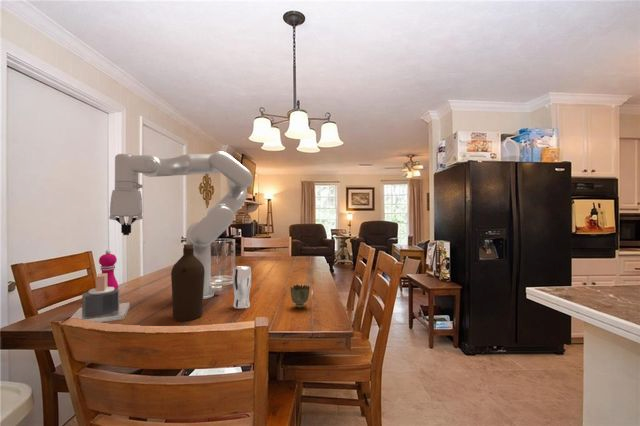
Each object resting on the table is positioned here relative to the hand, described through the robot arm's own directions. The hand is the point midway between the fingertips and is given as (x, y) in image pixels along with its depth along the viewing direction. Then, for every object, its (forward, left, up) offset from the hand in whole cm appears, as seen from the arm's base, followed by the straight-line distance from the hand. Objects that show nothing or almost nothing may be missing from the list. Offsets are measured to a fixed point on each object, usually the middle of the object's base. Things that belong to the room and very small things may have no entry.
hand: (126, 234), depth 114 cm
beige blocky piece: (+6, +9, -22) cm, 24 cm away
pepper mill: (+8, -14, -27) cm, 32 cm away
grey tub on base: (+6, +9, -27) cm, 29 cm away
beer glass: (-40, +19, -27) cm, 52 cm away
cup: (-60, +29, -27) cm, 72 cm away
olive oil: (-21, +22, -27) cm, 41 cm away
